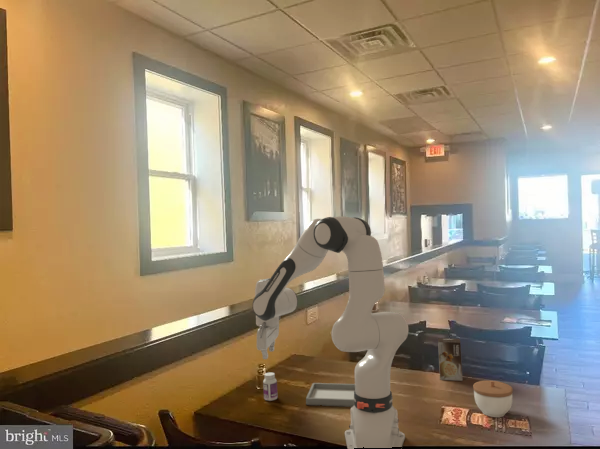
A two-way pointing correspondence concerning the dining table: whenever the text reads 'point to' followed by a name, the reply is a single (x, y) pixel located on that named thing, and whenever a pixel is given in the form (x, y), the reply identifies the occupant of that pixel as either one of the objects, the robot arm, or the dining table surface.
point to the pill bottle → (270, 387)
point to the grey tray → (331, 394)
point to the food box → (450, 359)
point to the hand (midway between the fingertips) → (268, 354)
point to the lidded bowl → (493, 397)
